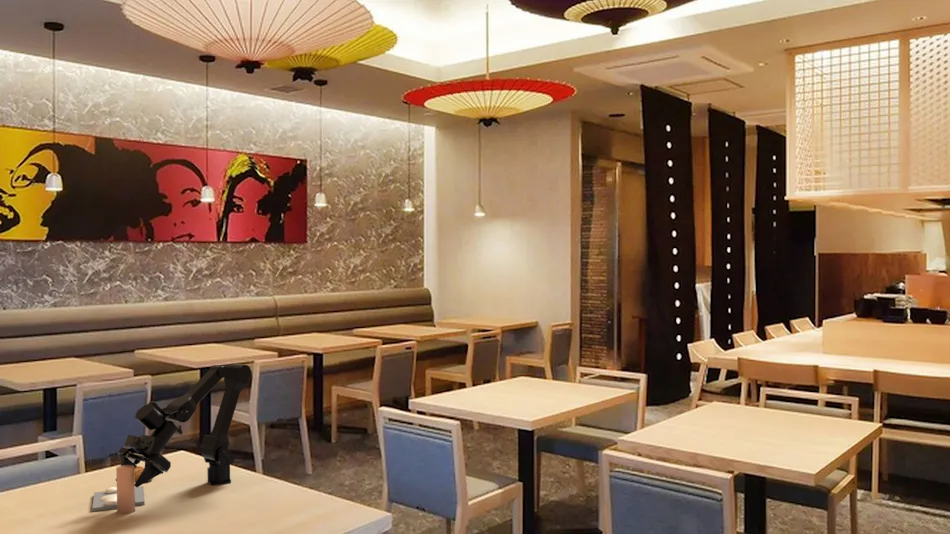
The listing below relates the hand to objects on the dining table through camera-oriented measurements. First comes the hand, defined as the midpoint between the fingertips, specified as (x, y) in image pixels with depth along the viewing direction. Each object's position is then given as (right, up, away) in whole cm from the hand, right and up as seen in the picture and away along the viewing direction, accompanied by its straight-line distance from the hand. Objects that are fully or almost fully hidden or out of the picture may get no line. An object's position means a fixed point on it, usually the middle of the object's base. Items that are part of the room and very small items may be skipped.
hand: (126, 484), depth 223 cm
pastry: (-9, -8, +32) cm, 34 cm away
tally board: (-7, -8, +10) cm, 15 cm away
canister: (0, -8, 0) cm, 8 cm away
